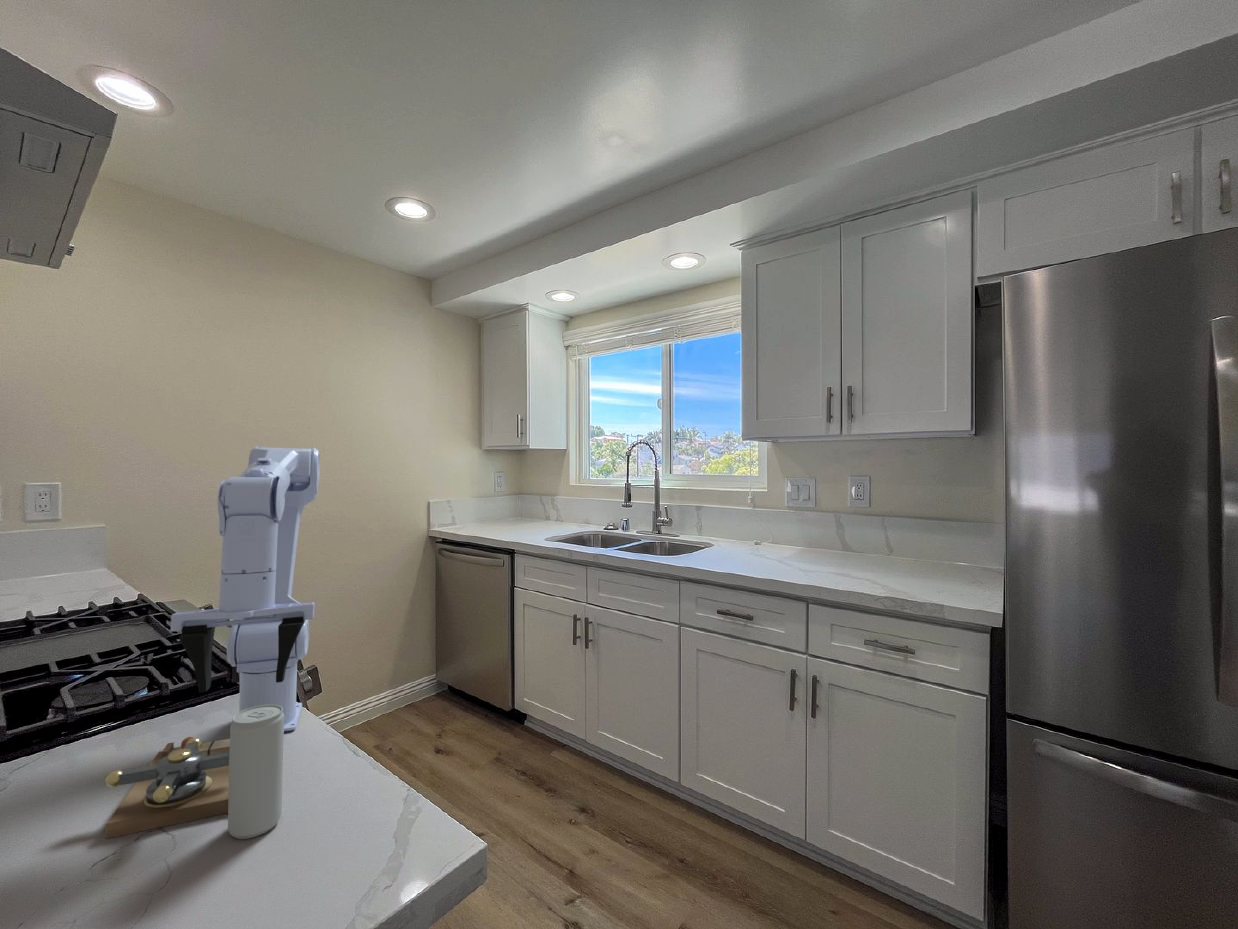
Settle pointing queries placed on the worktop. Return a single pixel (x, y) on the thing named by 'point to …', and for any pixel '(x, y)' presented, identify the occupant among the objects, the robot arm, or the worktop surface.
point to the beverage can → (255, 770)
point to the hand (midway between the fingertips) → (243, 685)
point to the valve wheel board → (203, 804)
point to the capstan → (172, 774)
